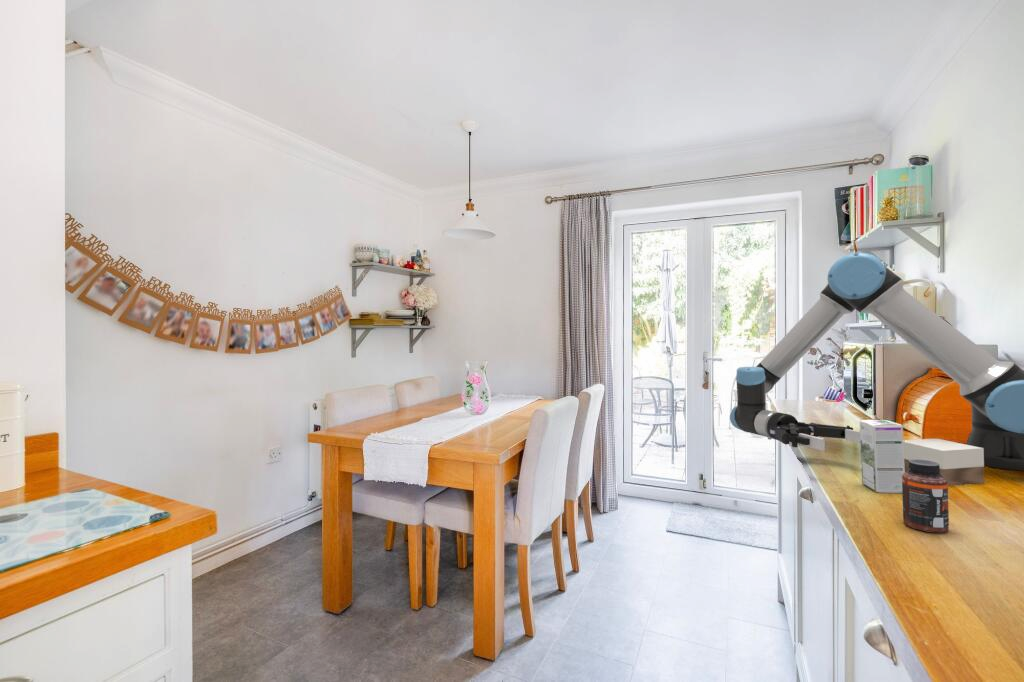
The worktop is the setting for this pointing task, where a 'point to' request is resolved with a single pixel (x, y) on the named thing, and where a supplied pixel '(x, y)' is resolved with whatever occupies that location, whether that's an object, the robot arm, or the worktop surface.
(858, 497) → the worktop surface
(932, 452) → the tower top block
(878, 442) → the syrup box
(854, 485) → the worktop surface
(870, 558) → the worktop surface
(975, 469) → the tower base block
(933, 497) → the supplement bottle
